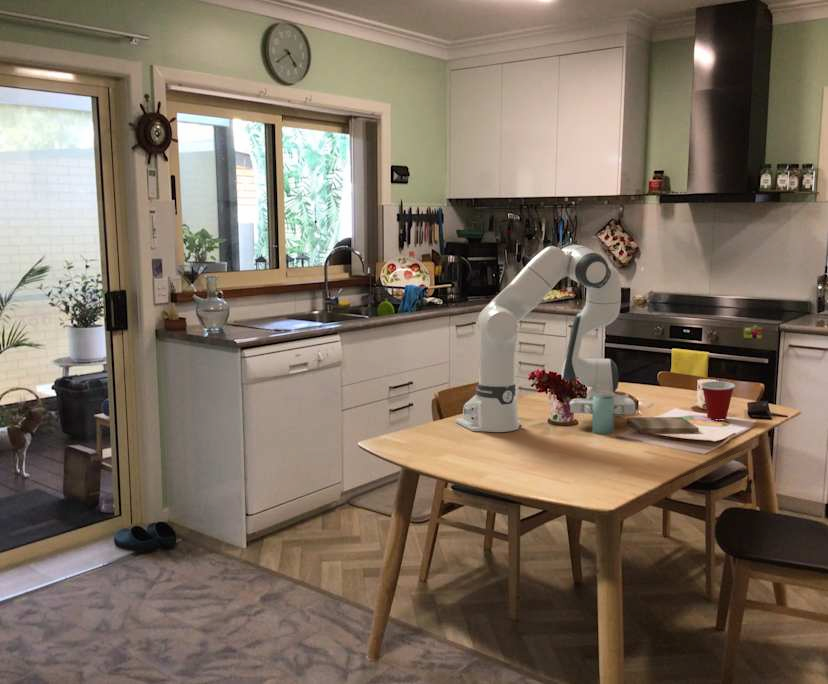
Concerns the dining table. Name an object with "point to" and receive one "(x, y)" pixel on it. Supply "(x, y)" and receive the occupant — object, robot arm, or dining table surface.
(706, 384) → the plastic cup
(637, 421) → the board
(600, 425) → the green tin
